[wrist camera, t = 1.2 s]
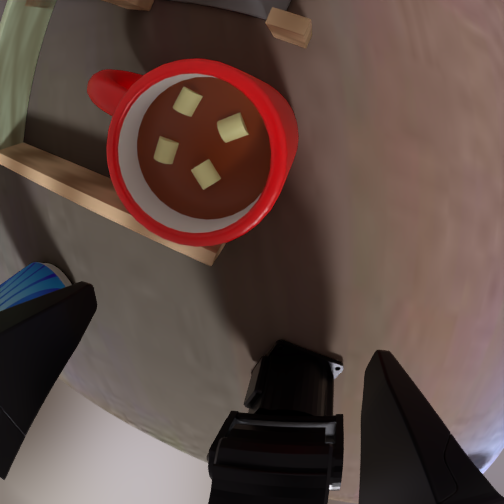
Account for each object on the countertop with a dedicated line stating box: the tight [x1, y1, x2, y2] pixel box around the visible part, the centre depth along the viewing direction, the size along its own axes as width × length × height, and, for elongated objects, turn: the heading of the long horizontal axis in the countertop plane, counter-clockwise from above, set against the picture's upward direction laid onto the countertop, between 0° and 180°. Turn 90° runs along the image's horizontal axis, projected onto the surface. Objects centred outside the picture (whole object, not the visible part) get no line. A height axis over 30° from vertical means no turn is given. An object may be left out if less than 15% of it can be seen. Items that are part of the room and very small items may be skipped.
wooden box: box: [0, 0, 312, 266], centre depth 15 cm, size 23×18×5 cm
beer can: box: [0, 262, 72, 311], centre depth 21 cm, size 8×8×16 cm
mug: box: [87, 58, 299, 247], centre depth 14 cm, size 8×12×8 cm, turn 59°
